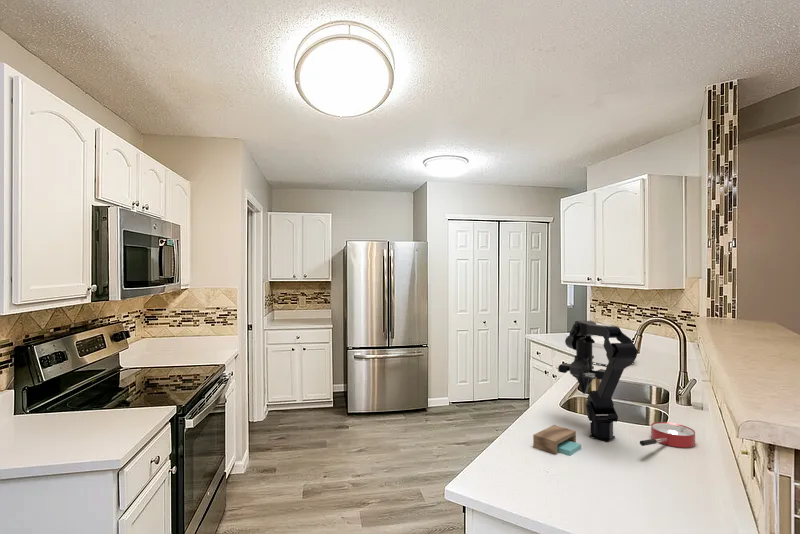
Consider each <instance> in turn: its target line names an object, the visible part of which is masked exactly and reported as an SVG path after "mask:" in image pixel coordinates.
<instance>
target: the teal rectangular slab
mask: <svg viewBox="0 0 800 534" xmlns="http://www.w3.org/2000/svg"><path fill="white" fill-rule="evenodd" d="M580 450H582V444H581V443H578V442H576V443H575V442H571V441H568V440H565V441H563V442H561V443H559V444H557V453H559V454H562V455H566V456H572V455H574V454H575V453H577V452H578V451H580Z"/></svg>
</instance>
